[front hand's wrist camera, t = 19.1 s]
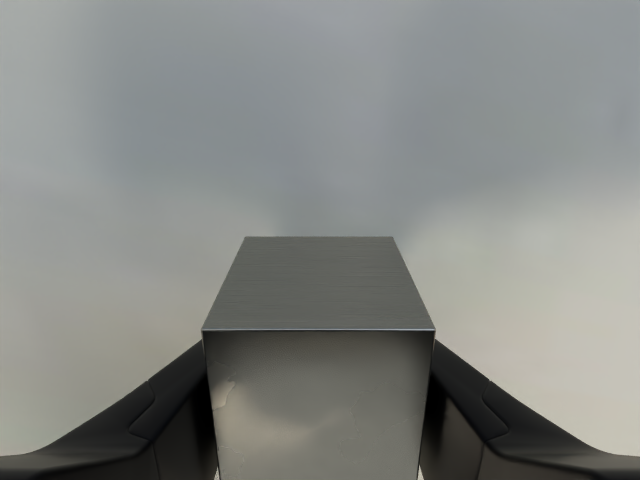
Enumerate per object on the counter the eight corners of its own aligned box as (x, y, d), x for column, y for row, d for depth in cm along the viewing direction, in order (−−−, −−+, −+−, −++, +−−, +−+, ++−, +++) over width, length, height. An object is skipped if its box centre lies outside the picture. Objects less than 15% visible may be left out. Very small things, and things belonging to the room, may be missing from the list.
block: (383, 367, 13) (414, 506, 9) (254, 367, 13) (222, 506, 9) (393, 236, 12) (436, 328, 7) (244, 235, 12) (199, 329, 7)
